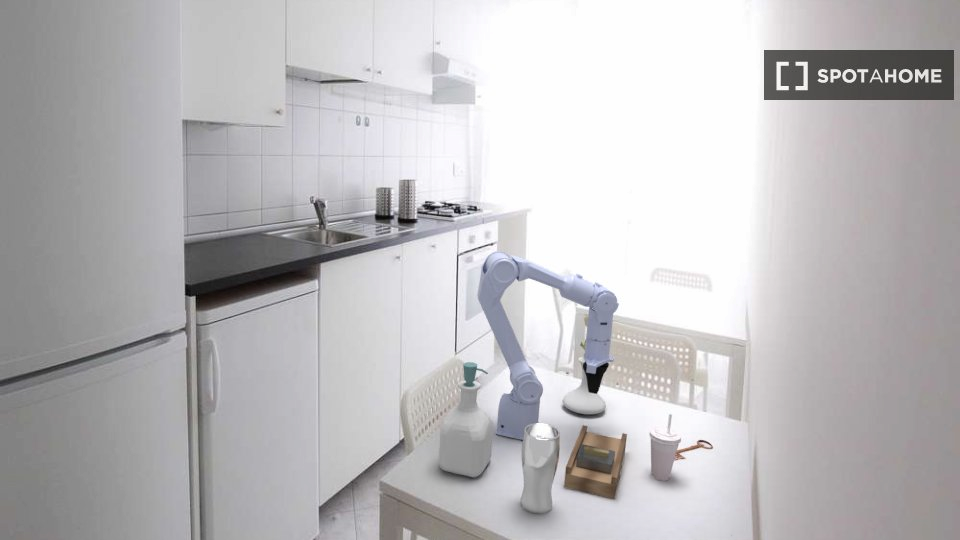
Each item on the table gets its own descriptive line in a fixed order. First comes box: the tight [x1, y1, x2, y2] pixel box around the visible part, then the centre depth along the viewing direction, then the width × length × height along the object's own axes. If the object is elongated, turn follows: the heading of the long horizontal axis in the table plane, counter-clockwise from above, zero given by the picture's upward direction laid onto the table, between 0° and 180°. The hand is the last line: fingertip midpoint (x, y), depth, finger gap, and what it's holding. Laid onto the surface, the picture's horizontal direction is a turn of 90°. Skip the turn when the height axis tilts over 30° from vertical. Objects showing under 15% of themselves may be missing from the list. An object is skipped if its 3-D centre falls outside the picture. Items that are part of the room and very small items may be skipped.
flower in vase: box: [562, 315, 607, 415], centre depth 150 cm, size 13×11×25 cm
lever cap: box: [576, 444, 615, 474], centre depth 118 cm, size 7×6×3 cm
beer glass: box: [519, 422, 561, 515], centre depth 107 cm, size 7×7×15 cm
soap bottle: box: [438, 361, 494, 478], centre depth 118 cm, size 10×10×23 cm
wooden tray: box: [563, 424, 628, 500], centre depth 122 cm, size 10×20×4 cm, turn 160°
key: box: [674, 439, 714, 462], centre depth 132 cm, size 6×1×15 cm
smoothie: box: [648, 413, 682, 481], centre depth 119 cm, size 6×6×14 cm
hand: (593, 392), depth 136 cm, fingers closed
